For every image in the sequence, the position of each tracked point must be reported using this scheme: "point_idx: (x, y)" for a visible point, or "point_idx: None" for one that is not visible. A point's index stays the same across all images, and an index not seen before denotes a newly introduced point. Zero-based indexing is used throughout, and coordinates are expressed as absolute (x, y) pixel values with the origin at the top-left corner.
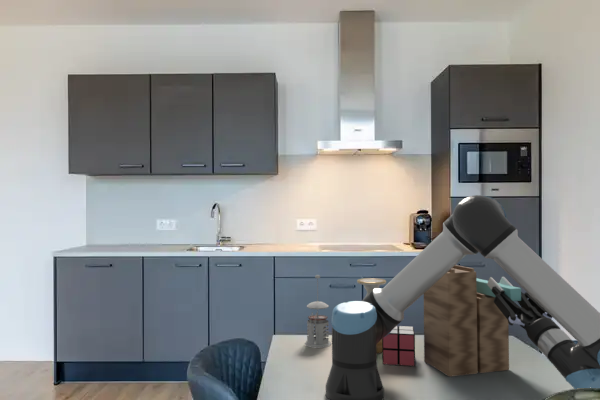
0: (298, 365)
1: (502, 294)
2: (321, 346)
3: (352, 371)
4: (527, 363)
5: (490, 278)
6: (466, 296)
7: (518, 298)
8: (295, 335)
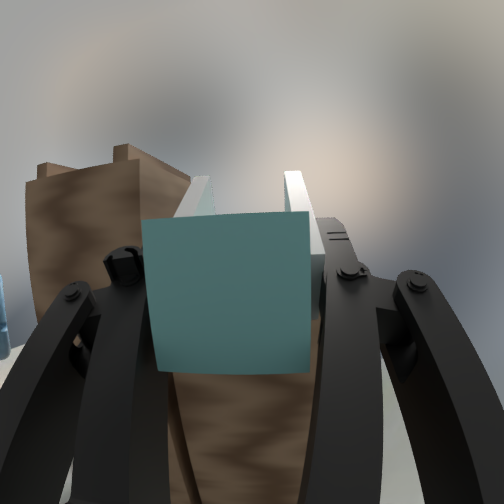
0: (2, 366)
1: (117, 286)
2: None
3: None
4: (406, 482)
5: (192, 181)
6: (95, 286)
7: (268, 348)
8: None
